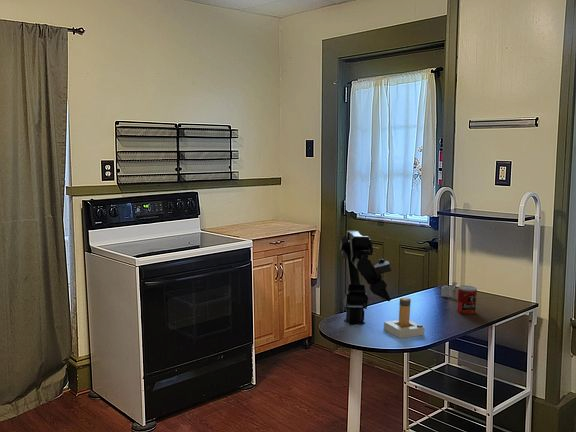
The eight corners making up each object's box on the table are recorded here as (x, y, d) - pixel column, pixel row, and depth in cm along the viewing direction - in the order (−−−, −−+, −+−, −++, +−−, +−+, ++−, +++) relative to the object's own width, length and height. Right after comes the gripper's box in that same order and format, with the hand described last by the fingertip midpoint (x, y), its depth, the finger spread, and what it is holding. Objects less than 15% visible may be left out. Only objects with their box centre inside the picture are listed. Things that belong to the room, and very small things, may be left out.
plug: (402, 334, 219) (403, 301, 217) (396, 331, 222) (397, 298, 221) (411, 333, 220) (412, 300, 219) (404, 329, 224) (406, 297, 222)
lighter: (440, 296, 276) (441, 279, 276) (442, 295, 278) (443, 279, 277) (454, 298, 272) (456, 282, 271) (456, 298, 273) (457, 281, 272)
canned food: (462, 315, 246) (464, 290, 244) (453, 309, 254) (455, 285, 252) (478, 314, 247) (480, 289, 246) (469, 309, 255) (471, 285, 254)
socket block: (399, 338, 214) (400, 328, 214) (383, 329, 224) (384, 320, 224) (424, 335, 218) (424, 325, 218) (407, 326, 228) (407, 317, 228)
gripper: (384, 259, 213) (409, 291, 215) (377, 248, 231) (400, 278, 233) (360, 277, 214) (385, 309, 216) (355, 265, 232) (378, 294, 234)
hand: (387, 297), depth 225 cm, fingers open, 9 cm apart
